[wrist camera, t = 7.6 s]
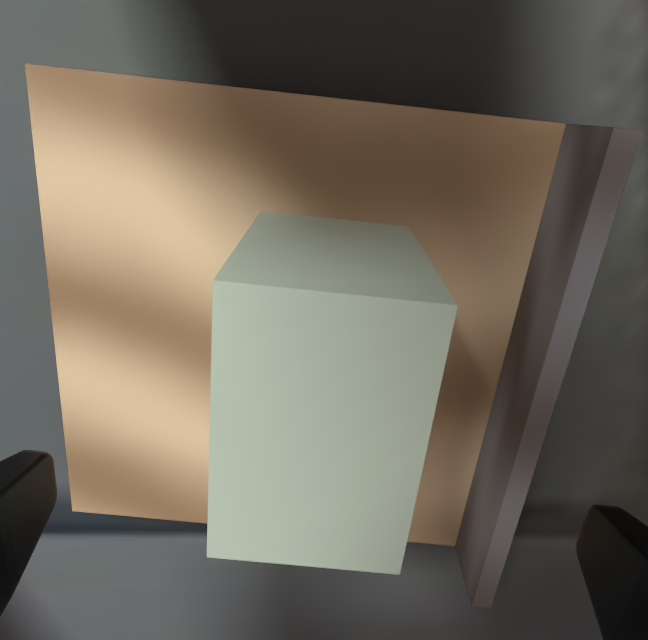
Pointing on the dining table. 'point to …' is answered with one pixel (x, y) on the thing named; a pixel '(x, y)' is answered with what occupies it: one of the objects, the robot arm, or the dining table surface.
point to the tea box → (322, 391)
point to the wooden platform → (321, 201)
